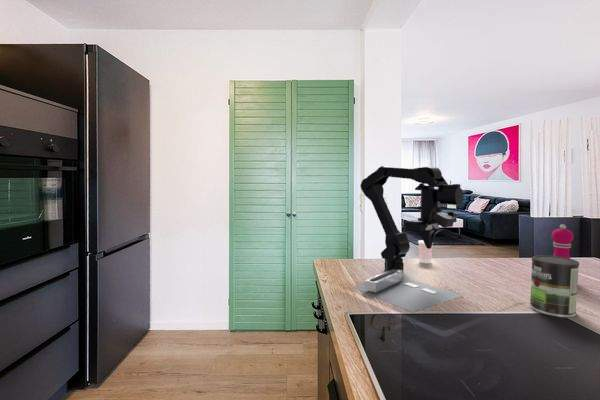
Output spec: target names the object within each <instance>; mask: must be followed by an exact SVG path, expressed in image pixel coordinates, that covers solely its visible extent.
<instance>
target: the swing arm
mask: <svg viewBox="0 0 600 400" xmlns="http://www.w3.org/2000/svg"><path fill="white" fill-rule="evenodd" d="M403 275H404V270H403V271H402V270H400V269H393V270H389V271H387V272H386V271H384V272H382V273H380V274H377V275H374V276H372V277H369V278H367V279H364V285H365V290H368V291H371V292H375V293H376V292H378V291H380V290H383V289H385V288H387V287H389V286H391V285H393V284H396V283H398V282H400V281H401V280H403V277H404V276H403Z"/></svg>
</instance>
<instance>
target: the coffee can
mask: <svg viewBox="0 0 600 400" xmlns="http://www.w3.org/2000/svg"><path fill="white" fill-rule="evenodd" d="M579 266H580V262H579V261H578V260H575V259H573V258H570V259H569V258H564V257H558V256H553V255H545V254H543V255H542V254H541V255H539V254H537V255H533V256H532V257H531V275H530V276H531V278H530V279H531V280H530V281H531V282H530V301H529V302H530V303H529V307H530V308H531V309H532V310H534V311H536V312H537V313H540V314H544V315H547V316H551V317H557V318H574V317H575V316H577V299H578V298H577V297H578V283H579V279H578V278H579Z"/></svg>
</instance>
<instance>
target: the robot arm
mask: <svg viewBox="0 0 600 400" xmlns="http://www.w3.org/2000/svg"><path fill="white" fill-rule="evenodd" d="M389 178H399V179H408V180H409V179H410V180H413V181H415V182H416V183H419V184H418V185H417V186H416V187H414V190H415V191H420V205H419V206H417V210H420V217H418V218H417V220H416V219H413V220H406V221H405V222H404V230H409V231H417V232H418V233H419V235H420V237H421V239H422V240H423V241H424V243H425V245H426V247H427V248H428V249H431V247H432V248H433V245H434V241H435V238H436V237H437V234H438V233H439V232H441V231H442V230H443V228H446V229H447V228H453V227H454V223H456V222H457V212H454V211H448V212H443V208H442V206H439V203H440V204H441V205H446V206H447V205H449V206H452V205H453V206H461V205H462V204H463V201H464V197H465V196H464V193H463V192H464V191H463V189H462V188H461V184H460V183H453V184H448V181H446V180H445V178H444V176H443V173H442V171H441V170H440V168H439V167H436V166H434V167H433V166H423V167H416V168H409V167H408V168H407V167H406V168H404V167H393V166H389V165H388V166H387V165H381V166H379V167H377V169H376V170H374V172H372V173H371V174H368V176H366V178H364V179H362V180H361V183H360V186H359V187H360V189H361V191H362V192H363V194H364V196H365V197H366V198H368V200H369V201H370V202H371V204H372V206H373V209H374V211H375V213H376V216H377V218H378V219H379V222H380V225H381V226H382V229H383V232H384V234H385V239H384V243H385V248H384V249H383V250H382V251H381V252H380V255H381V256H380V257H381V258H382V259H383V260H384V271H385V272H387V271H389V270H393V269H400V270H402V271H403V272H404V259H403V258H406V255H407V253H409V251H410V248H411V246H410V243H411V241H410V240H409V239H408V236H407V233H406V232H401V231H400V230H399V229H398V226H397V225H396V222H395V220H394V218H393V216H392V213H391V211H390V209H389V207H388V204H387V203H386V200H385V197H384V185H385V184H386V183H387V181H388V179H389ZM440 226H441V227H440Z"/></svg>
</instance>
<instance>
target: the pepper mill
mask: <svg viewBox="0 0 600 400" xmlns="http://www.w3.org/2000/svg"><path fill="white" fill-rule="evenodd" d="M551 239H552V240H553V245H552V247H553V249H554V251H553V255H552V256H558V257H564V258H569V259H571V256H570V248H571V249H572V243H571V242H572V241H574V233H573V232H572V230H570V229H567V226H566V225H565V224H564V223H563V224H560V225H559V228H557V229H554V230H553V231H552V233H551Z"/></svg>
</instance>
